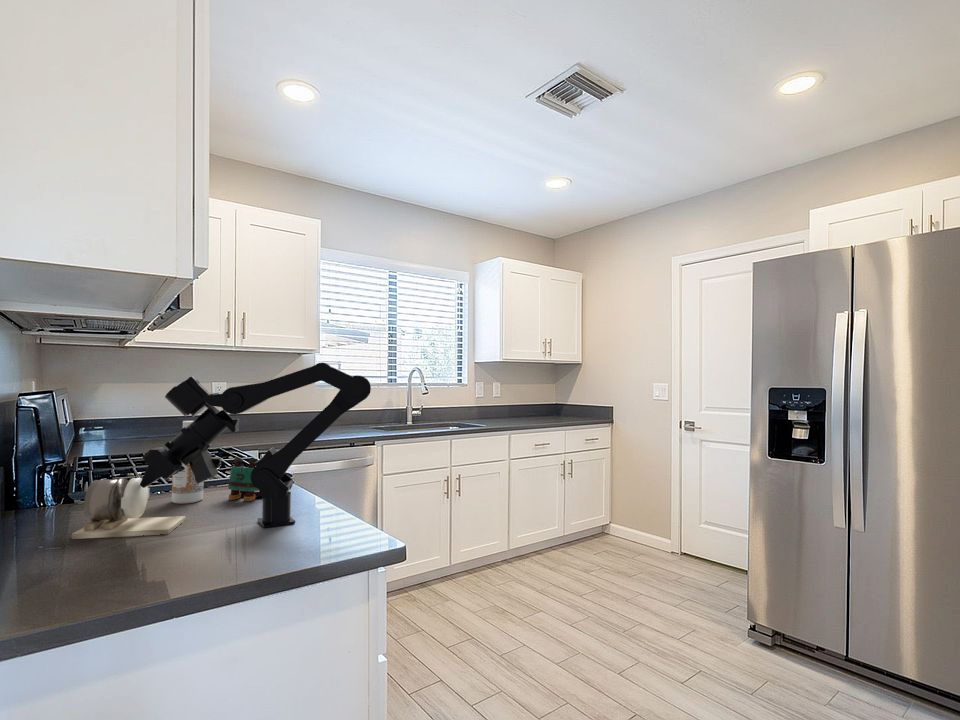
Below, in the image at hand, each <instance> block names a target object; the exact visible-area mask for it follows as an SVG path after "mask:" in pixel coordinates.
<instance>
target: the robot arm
mask: <svg viewBox="0 0 960 720" xmlns="http://www.w3.org/2000/svg"><path fill="white" fill-rule="evenodd" d="M318 382H324V383H325V384H328V385H330V386H332V387H334V388H336V389H337V390H338V392H337V393H336V395H335V396H334V397H333V399H332V400H331V401H330V403H329V404H328V405H326V407H325V408H323V410H321V412H319V413H318V414H317V415H316V416H315V417H314V418H313V419H312V420H310V422H308V424H306V425H305V427H303V429H301V430H300V431H299V432H298V433H297V434H296V435H295V436H293V438H292V439H291V440H290V441H288V443H286V444H285V445H284V446H283V447H281V448H279V449H278V450H277V449H276V448H275V447H274V446H272V447H270V449H268V450H267V451H266V452H265V453H264V455H263V456H262V457H261V458H259V459H257V461H256V462H255V463H254V465H256V467H254V469H253V470H252V472H251V482H252V484H253V485H254V486H255V487H256V488H258V489H259V490H258V492H260V494H261V496H260V497H261V499H262V508H261V509H262V512H261V513H262V514H261V517H258V518H257V523H259V524H260V526H262V527H263V528H272V527H279V526H284V525H285V526H286V525H292V524H295V523H296V520H295V519H294V518H293V517H292V516H291V508H292V507H291V505H292V503H291V502H292V500H291V499H292V492H290V490H291V489H292V487H293V485H294V481H295V480H294V479H293V478H292V477H291V476H290V475H288V474H287V471H288V470H289V469H290V467H291V466H292V464H293V463H294V461H296V459H297V458H298V457H299V456H301V454H302V453H304V451H305V450H307V448H308V447H309V446H311V445H312V444H313V443H314V442H315V441H316V440H317V439H318V438H319V437H320V436H321V435H322V434H323V433H324V432H325V431H326V430H328V428H329V427H331V425H333V423H335V422H336V421H337V420H338V419H339V418H340V417H341V416H342V415H343V414H345V413H347V412H348V411H350V410H351V409H353V408H354V407H356V406H358V405H359V404H360V403H361V402H363V401H364V400H366V399H367V398H368V397H369V396H370V393H371V391H372V390H371V389H372V385H371V382H370V381H369V380H368V378H367V377H365V376H363V375H350V374H348V373H346V372H345V371H341V370H339V369H338V368H335V367H333V366H331V365H330V364H328V363H327V362H317V363H316V364H314V365H313V366H312V365H311V366H309V367H307V368H304V369H300V370H297V371H294V372H291V373H288V374H286V375H282V376H280V377H275V378H273V379H269V380H266V381H264V382H258V383H252V384H251V383H250V384H245V385H238V386H232V387H228V388H227V389H225V390H223V392H222V393H219V392H212V393H211V392H209V391H208V389H206V388H205V387H204V386H203V385H202V384H201V382H200V381H199V380H198V379H197V378H196V377H195V376H189V377H188V378H187V379H186V380H184V381H182V382H181V383H179V384H178V385H175V386H173V387H172V388H171V389H170V390H169V391H167V393H166V394H165V396H164V398H165V400H167V401H168V403H170V404H171V405H172V406H174V408H175V409H177V410H178V411H179V412H180V413H181V414H182V415H183V416H184V417H188V416H190V415H191V416H192V418H194V417H196V416H197V415H198V417H196V418H195V419H194V420H192V421H193V422H192V423H191V424H190V425H189V426H187V427H184V428H183V427H182V429H181V430H180V432H179V433H178V434H177V435H176V436H175V437H174V438H173V439H172V440H169V441H167V442H166V443H165V444H164V446H165V447H164V446H162V447H160V446H159V447H158V446H157V447H154V448H151V449H149V450H147V451H146V453H144V454H143V455H142V460H144V461H145V462H146V463H147V464H148V465H147V468H146V470H145V472H144V475H142V476H143V477H141V478H142V481H141V483H140V486H142V487H143V488H145V487H146V486H150V485H151V484H153V483H154V482H157V480H159V479H161V478H164V479H166V480H167V479H168V478H172V475H175V474H177V473H179V472H180V471H182V470H184V469H185V468H184V467H183V466H182V463H183V464H184V465H185V466H186V465H188V464H189V463H190V467H191V469H192V471H193V474H194V476H195V480H196V482H197V483H201V482H203V481H204V482H206V481H207V480H209V479H212V478H214V477H215V476H217V475H218V472H219V470H218V468H219V467H220V466H221V464H222V463H223V462H222V460H221V459H220V457H217V456H214V457H213V456H212V455H211V454H209V452H208V449H209V448H210V447H212V443H213V442H214V441H215V440H216V439H217V438H218V437H219V436H220V435H221V434H223V432H224V431H226V430H227V429H228V430H229V431H230V432H231V433H236V432H239V430H240V427H239V426H240V424H239V423H240V420H241V419H240V418H233V417H232V416H231V415H239V414H242V413H246V412H248V411H249V410H251V409H254V408H255V407H257V406H259V405H261V404H262V403H264V402H266V401H267V400H269V399H271V398H274V397H277V396H280V395H283V394H285V393H289V392H291V391H295V390H297V389H301V388H303V387H306V386H309V385H312V384H315V383H318ZM218 408H221V410H219V409H218ZM201 412H202V413H201ZM199 414H200V415H199ZM166 448H167V449H166ZM204 482H203V483H204Z"/></svg>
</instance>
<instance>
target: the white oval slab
mask: <svg viewBox="0 0 960 720" xmlns="http://www.w3.org/2000/svg"><path fill="white" fill-rule="evenodd" d="M142 478H143V477H136V478H135V477H133V478H130V479H129V480H128V484H127V486H126V488H125V491H124V496H123V498H121V509H123V511H124V514H125V516H126V517H127V518H128V519H129V518H142V516H143V514H144V512H145V510H146V507H147V503H148V500H149V498H150V487H148V486H149V485H148V486H146V487H145V488H143V487H142V486H140V483H141V481H142Z"/></svg>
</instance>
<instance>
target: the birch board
mask: <svg viewBox="0 0 960 720" xmlns="http://www.w3.org/2000/svg"><path fill="white" fill-rule="evenodd" d="M184 522H186V515H183V516H177V515H176V516H156V517H139V518H127V517H126V516H125V517H124V518H123V519H122V520H120V521H114V520H100V521H88V522H87V523H85V524H84V525H83V527H82V528H80V529H78V530H76V531H74V532H72V533H71V540H79V539H81V540H82V539H97V538H98V539H101V538H118V537H119V538H121V537H136V536H137V537H138V536H142V537H143V535H144V536H160V534H164V535H170V534H171V533H172V532H174V529H175V528H176V527H177V528H178V527H180V526H181V525H182V524H183V523H184ZM181 523H182V524H181ZM180 524H181V525H180ZM177 528H176V529H177ZM176 529H175V530H176ZM170 532H171V533H170ZM169 533H170V534H169Z"/></svg>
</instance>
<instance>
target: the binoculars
mask: <svg viewBox="0 0 960 720" xmlns="http://www.w3.org/2000/svg"><path fill="white" fill-rule="evenodd" d="M243 461H244V458H241V457H236V456H235V457H234V459H233V462H234V465H233V466H231V468H230V472H229V473H230V474H229V481H228V490H230V493H229V495H228V500H231V501H235V500H237V499H240V498H241V497H243V501H244V502H252V501H254V500H255V499H256V498H258V497H261V494H260V492H259V489H258V488H256V487H255V486H254V485H253V484H252V482H251V472H252V470H253V469H254V467H256V465H254V463H255V462H256V461H258V458H252V459H249V460H248V466H247V467H246V466H243V465H242V463H243Z"/></svg>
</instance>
